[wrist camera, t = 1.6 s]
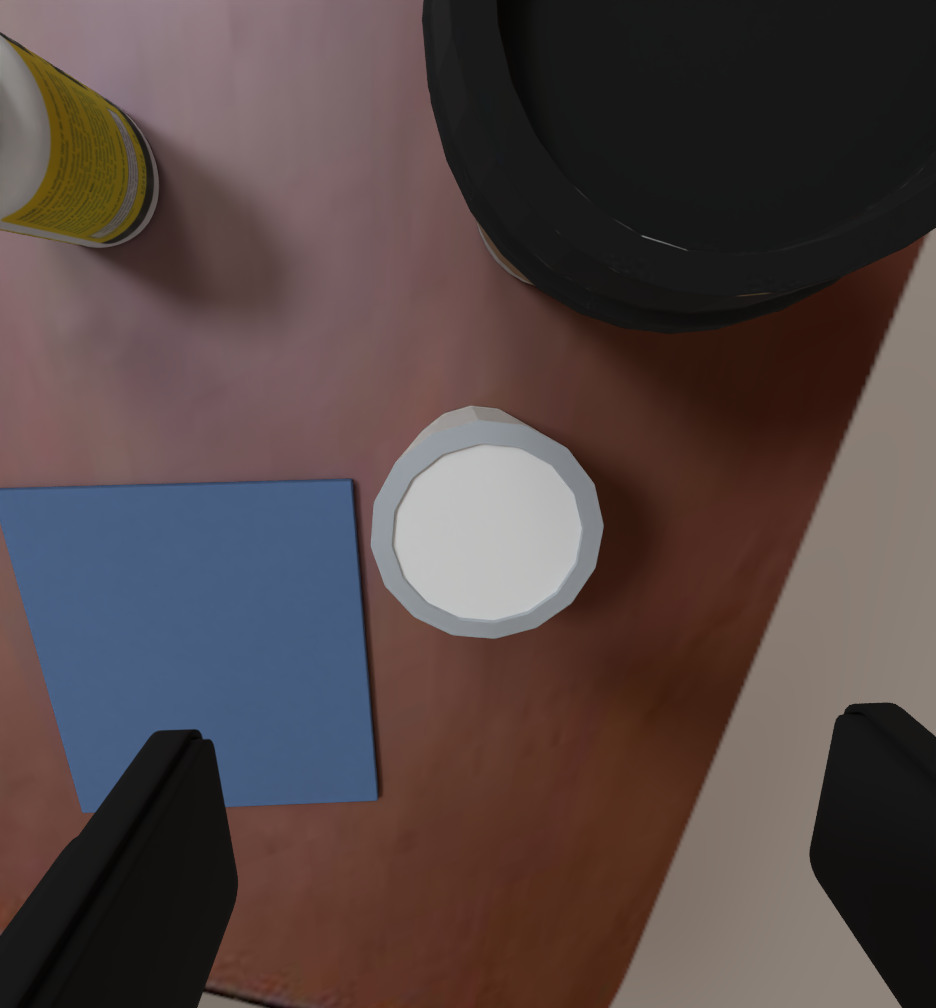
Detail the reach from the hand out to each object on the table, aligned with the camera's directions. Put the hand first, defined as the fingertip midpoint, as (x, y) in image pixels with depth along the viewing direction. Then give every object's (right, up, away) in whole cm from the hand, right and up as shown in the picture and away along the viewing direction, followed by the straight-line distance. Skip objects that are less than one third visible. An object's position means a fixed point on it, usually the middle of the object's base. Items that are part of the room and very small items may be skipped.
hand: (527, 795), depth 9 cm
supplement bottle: (-14, +16, +11) cm, 24 cm away
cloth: (-12, -2, +17) cm, 21 cm away
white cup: (-1, +6, +15) cm, 16 cm away
